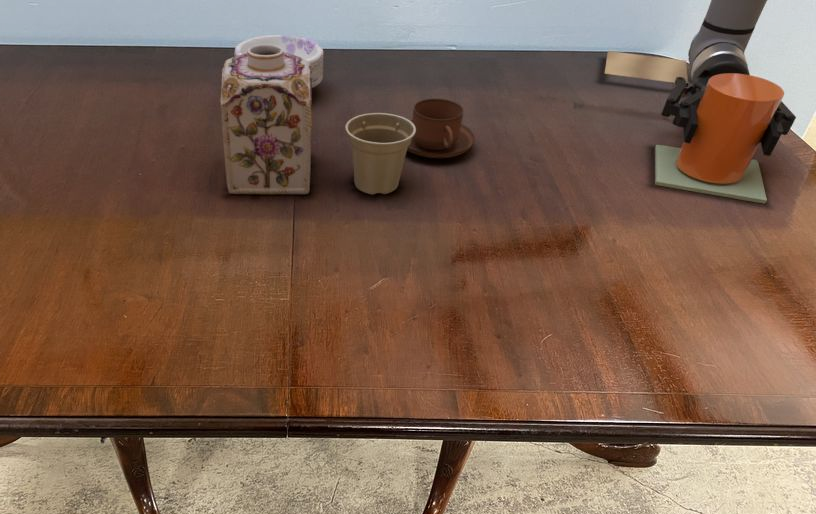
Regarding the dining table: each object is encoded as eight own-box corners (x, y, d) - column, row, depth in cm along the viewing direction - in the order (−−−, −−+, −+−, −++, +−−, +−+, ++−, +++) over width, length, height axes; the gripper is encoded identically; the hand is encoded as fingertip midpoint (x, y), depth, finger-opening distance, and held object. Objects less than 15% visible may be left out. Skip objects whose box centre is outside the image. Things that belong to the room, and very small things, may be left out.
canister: (740, 159, 98) (779, 78, 90) (746, 188, 92) (789, 105, 84) (674, 148, 101) (707, 69, 93) (675, 176, 94) (710, 94, 86)
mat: (756, 163, 99) (757, 160, 99) (765, 204, 91) (767, 200, 90) (654, 147, 103) (656, 144, 103) (654, 185, 95) (656, 181, 94)
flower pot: (353, 163, 100) (356, 108, 94) (415, 174, 97) (422, 117, 91) (334, 195, 93) (336, 137, 87) (400, 206, 91) (407, 148, 85)
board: (683, 68, 126) (686, 60, 125) (685, 92, 118) (688, 84, 117) (605, 58, 130) (607, 50, 129) (602, 81, 122) (604, 73, 121)
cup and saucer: (489, 152, 102) (496, 114, 98) (427, 173, 97) (433, 134, 93) (437, 123, 110) (443, 86, 105) (378, 141, 105) (381, 103, 101)
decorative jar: (226, 196, 93) (214, 66, 81) (233, 155, 101) (223, 33, 89) (312, 196, 93) (313, 66, 81) (312, 155, 101) (313, 33, 89)
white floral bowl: (331, 80, 123) (332, 36, 117) (311, 116, 112) (311, 68, 106) (252, 73, 125) (249, 29, 120) (225, 106, 114) (221, 60, 109)
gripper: (786, 111, 104) (809, 180, 88) (637, 90, 110) (634, 151, 94) (810, 62, 99) (839, 126, 83) (653, 43, 105) (653, 100, 89)
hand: (730, 139), depth 89 cm, fingers closed on canister, 9 cm apart
